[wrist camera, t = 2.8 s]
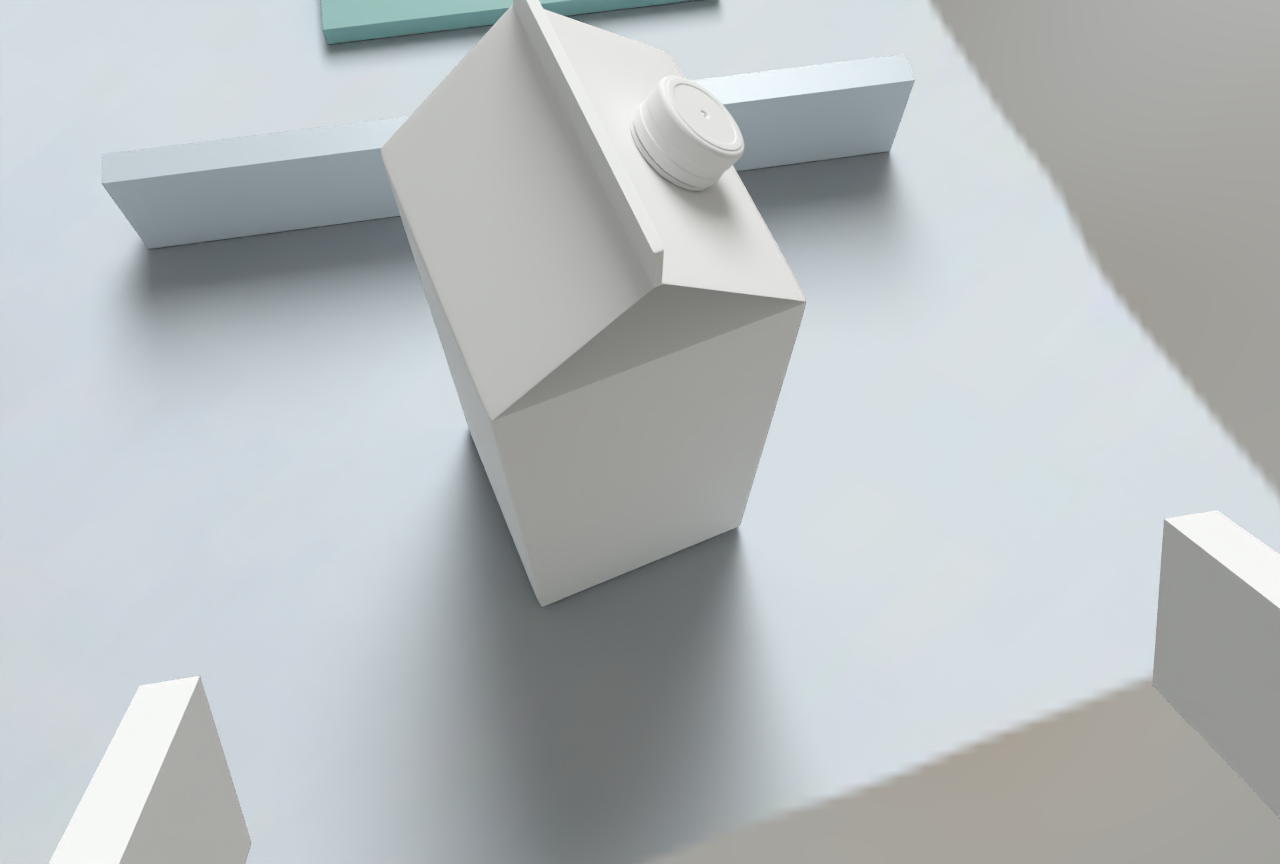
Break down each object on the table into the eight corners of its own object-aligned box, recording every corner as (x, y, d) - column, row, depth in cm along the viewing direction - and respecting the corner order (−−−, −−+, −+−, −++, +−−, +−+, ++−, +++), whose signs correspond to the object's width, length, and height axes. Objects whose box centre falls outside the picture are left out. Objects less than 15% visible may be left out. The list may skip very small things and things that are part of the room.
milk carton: (541, 610, 36) (461, 324, 18) (466, 423, 38) (333, 14, 21) (741, 528, 37) (847, 185, 20) (656, 351, 40) (681, -92, 22)
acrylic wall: (148, 248, 41) (101, 183, 37) (148, 221, 41) (102, 154, 38) (889, 151, 43) (914, 80, 39) (882, 126, 44) (905, 53, 40)
